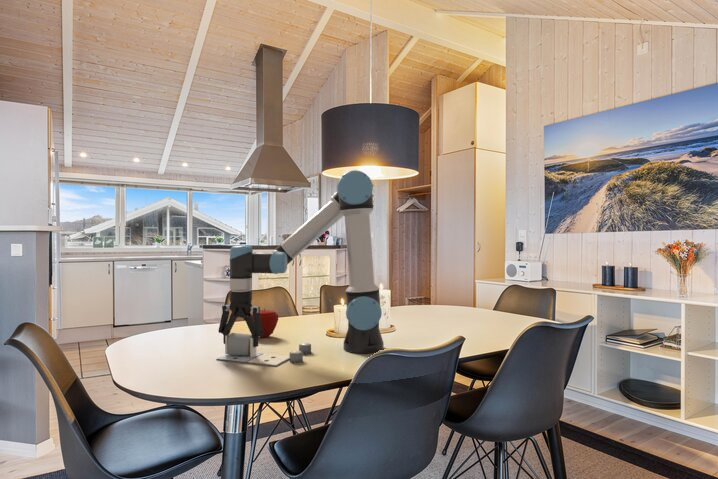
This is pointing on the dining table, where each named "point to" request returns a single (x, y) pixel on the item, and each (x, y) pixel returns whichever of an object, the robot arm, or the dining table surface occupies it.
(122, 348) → the dining table surface
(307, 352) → the tealight
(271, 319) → the apple
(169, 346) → the dining table surface
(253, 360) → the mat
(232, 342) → the grey cylinder
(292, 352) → the tealight
